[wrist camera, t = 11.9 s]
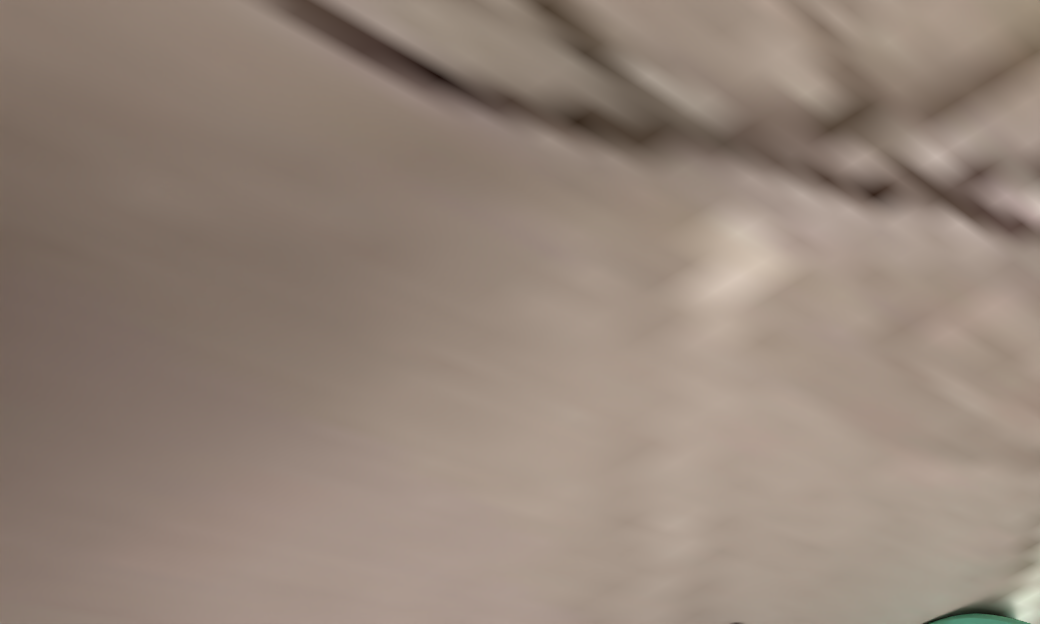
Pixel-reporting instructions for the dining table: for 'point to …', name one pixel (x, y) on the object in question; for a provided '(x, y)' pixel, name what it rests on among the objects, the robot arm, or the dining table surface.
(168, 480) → the dining table surface
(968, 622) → the teal round container
